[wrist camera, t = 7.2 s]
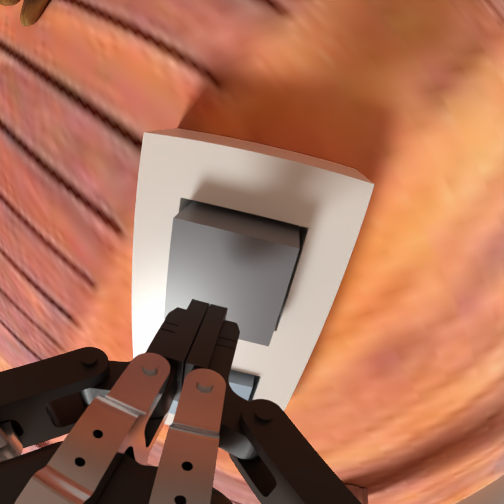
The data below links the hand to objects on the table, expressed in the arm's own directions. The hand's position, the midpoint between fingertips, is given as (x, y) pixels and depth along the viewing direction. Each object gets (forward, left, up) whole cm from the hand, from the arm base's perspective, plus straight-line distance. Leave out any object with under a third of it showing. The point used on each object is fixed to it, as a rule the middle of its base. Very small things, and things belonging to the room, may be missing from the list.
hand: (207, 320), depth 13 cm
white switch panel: (0, +6, -10) cm, 11 cm away
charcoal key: (0, 0, -7) cm, 7 cm away
